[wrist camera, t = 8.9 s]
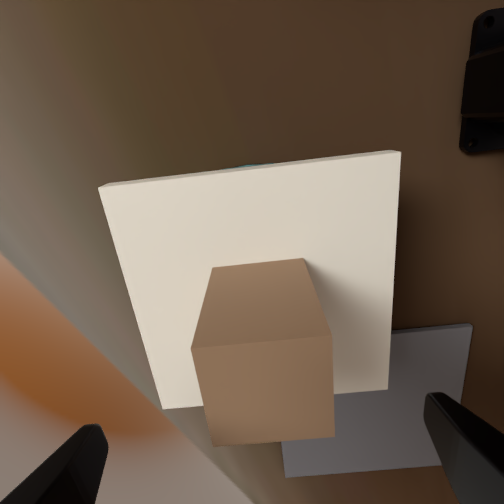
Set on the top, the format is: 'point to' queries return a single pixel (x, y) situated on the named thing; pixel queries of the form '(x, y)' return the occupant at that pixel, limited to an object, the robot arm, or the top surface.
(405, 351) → the mat
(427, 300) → the top surface
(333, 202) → the lid
